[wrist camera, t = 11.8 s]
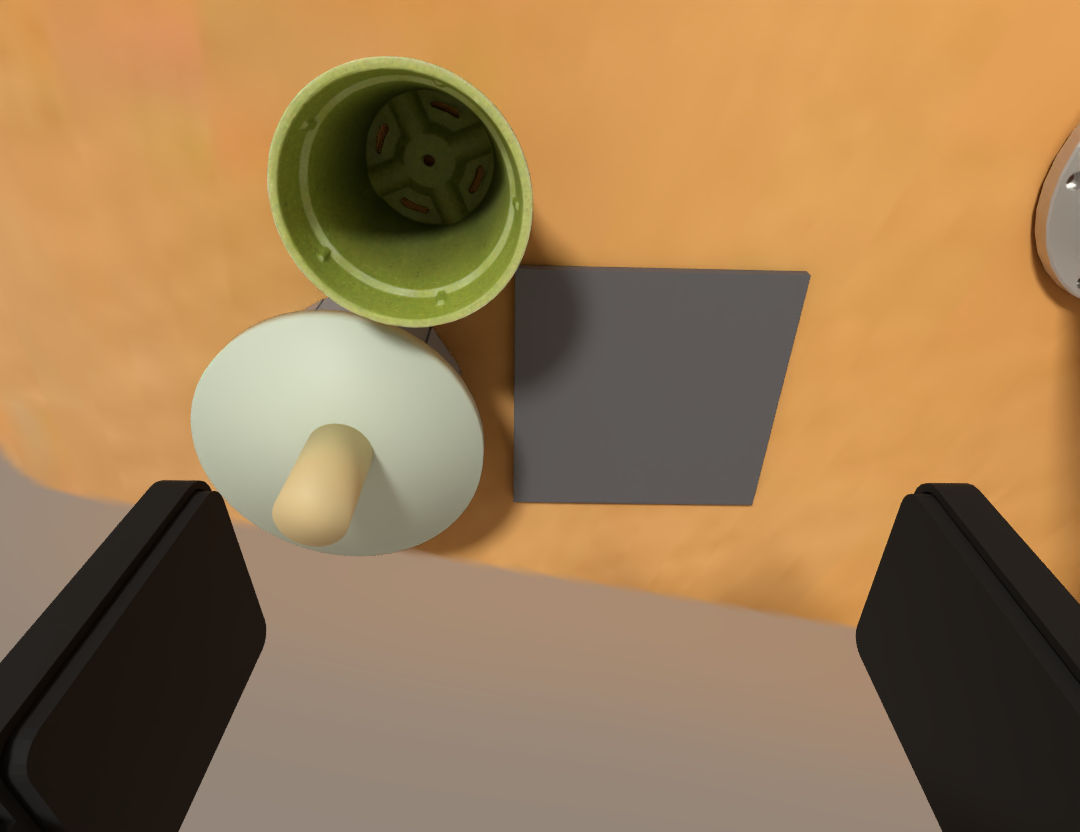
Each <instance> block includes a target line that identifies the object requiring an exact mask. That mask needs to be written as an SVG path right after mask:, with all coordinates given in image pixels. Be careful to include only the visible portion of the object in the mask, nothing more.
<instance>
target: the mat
mask: <svg viewBox="0 0 1080 832" xmlns="http://www.w3.org/2000/svg"><path fill="white" fill-rule="evenodd" d="M810 276H811V275H810V274H809V273H808V272H806V271H764V270H719V269H673V268H627V267H582V266H536V265H519V266H518V268H517V270H516V272H515V369H514V502H559V503H637V504H715V505H752V504H753V500H754V496H755V492H756V488H757V484H758V480H759V476H760V472H761V468H762V464H763V460H764V456H765V453H766V449H767V445H768V441H769V437H770V433H771V429H772V425H773V421H774V417H775V413H776V409H777V405H778V401H779V398H780V394H781V390H782V386H783V382H784V378H785V374H786V370H787V366H788V362H789V358H790V354H791V350H792V347H793V343H794V339H795V335H796V331H797V327H798V323H799V319H800V315H801V311H802V307H803V303H804V299H805V296H806V292H807V288H808V284H809V280H810Z"/></svg>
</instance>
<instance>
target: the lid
mask: <svg viewBox="0 0 1080 832" xmlns="http://www.w3.org/2000/svg"><path fill="white" fill-rule="evenodd" d="M191 431H192V437H193V442H194V446H195V450H196V452H197V455H198V458H199V460H200V463H201V465H202V467H203V469H204V470H205V472H206V474H207V476H208V478H209V479H210V481H211V482H212V483H213V485H214V486H215V488H216V489H217V490H218V492H219V493H220V494H221V495H222V496H223V497H224V498H225V499H226V501H227V502H228V503H229V504H230V505H231V506H232V507H233V508H235V509H236V510H237V511H238V512H239V513H240V514H241V515H243V516H244V517H245V518H246V519H248V520H249V521H251V522H252V523H254V524H255V525H256V526H258V527H259V528H261V529H263V530H265V531H266V532H268V533H270V534H272V535H274V536H276V537H278V538H280V539H282V540H285V541H287V542H289V543H292V544H295V545H297V546H301V547H303V548H306V549H310V550H314V551H319V552H322V553H329V554H335V555H343V556H375V555H383V554H389V553H394V552H398V551H402V550H406V549H409V548H411V547H414V546H417V545H420V544H422V543H424V542H426V541H428V540H430V539H432V538H434V537H435V536H437V535H438V534H440V533H441V532H443V531H444V530H445V529H447V528H448V527H449V526H450V525H451V524H452V523H453V522H455V521H456V520H457V519H458V518H459V516H460V515H461V514H462V513H463V512H464V510H465V509H466V508H467V506H468V505H469V503H470V501H471V500H472V498H473V496H474V494H475V492H476V489H477V487H478V484H479V481H480V476H481V472H482V467H483V457H484V433H483V425H482V421H481V417H480V414H479V410H478V408H477V405H476V403H475V401H474V398H473V396H472V394H471V393H470V391H469V389H468V388H467V386H466V384H465V383H464V381H463V379H462V378H461V377H460V376H459V374H458V373H457V372H456V371H455V369H454V368H453V367H452V366H451V365H450V364H449V363H448V362H447V361H446V360H445V359H444V358H443V357H442V356H441V355H440V354H439V353H438V352H437V351H435V350H434V349H433V348H431V347H430V346H429V345H427V344H426V343H425V342H424V341H422V340H421V339H419V338H417V337H415V336H414V335H412V334H410V333H409V332H407V331H405V330H403V329H401V328H399V327H397V326H394V325H387V324H383V323H380V322H376V321H373V320H370V319H368V318H365V317H362V316H359V315H357V314H355V313H352V312H347V311H338V310H325V309H321V310H302V311H296V312H291V313H285V314H281V315H278V316H275V317H272V318H269V319H266V320H263V321H261V322H259V323H257V324H255V325H253V326H251V327H249V328H248V329H246V330H245V331H243V332H242V333H240V334H239V335H237V336H236V337H235V338H233V339H232V340H231V341H230V342H229V343H228V344H227V345H226V346H225V347H224V348H223V349H222V350H221V351H220V352H219V353H218V355H217V356H216V357H215V358H214V359H213V360H212V362H211V363H210V364H209V366H208V367H207V368H206V370H205V371H204V373H203V375H202V377H201V379H200V381H199V383H198V385H197V387H196V391H195V394H194V398H193V401H192V409H191Z"/></svg>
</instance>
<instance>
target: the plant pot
mask: <svg viewBox="0 0 1080 832" xmlns="http://www.w3.org/2000/svg"><path fill="white" fill-rule="evenodd" d="M435 100H436V101H440V102H443V103H445V104H448V105H450V106H453V107H454V108H456V109H457V110H458V112H459V118H456V117H455V116H453V115H451V114H449V113H447V112H445V111H443V110H440V109H438V108H434V107H432V106H431V103H432V102H434V101H435ZM383 124H387V125H388V126H389V130H388V132H387V134H386V137H385V139H384V142H383V147H382V148H381V153H380V154H378V151H377V149H376V138H377V134H378V131H379V129H380V127H381V126H382V125H383ZM426 155H431V156H432V157H433V158H434V159H435V163H434V164H433V165H432V166H428V165H426V164H425V163H424V160H423V159H424V156H426ZM479 165H481V166H482V167H483V169H484V176H483V179H482V180H481V183H480V186H479V188H478V189H477V191H476V192H475V193H470V192H469V188H470V187H471V185H472V183H473V181H474V179H475V175H476V170H477V167H478V166H479ZM267 187H268V195H269V201H270V206H271V211H272V214H273V218H274V222H275V225H276V228H277V230H278V233H279V235H280V237H281V240H282V242H283V244H284V246H285V247H286V249H287V251H288V253H289V254H290V256H291V257H292V259H293V261H294V262H295V264H296V265H297V266H298V268H299V269H300V270H301V271H302V272H303V273H304V275H305V276H306V277H307V278H308V279H309V280H310V281H311V282H312V283H313V284H314V285H315V286H316V287H317V288H318V289H319V290H321V291H322V292H323V293H324V294H325V295H326V296H328V297H329V298H330V299H331V300H333V301H334V302H336V303H337V304H338V305H340V306H342V307H344V308H345V309H347V310H349V311H351V312H353V313H355V314H357V315H359V316H362V317H365V318H368V319H370V320H373V321H376V322H380V323H383V324H387V325H394V326H401V327H431V326H436V325H441V324H446V323H449V322H453V321H456V320H459V319H461V318H464V317H466V316H468V315H470V314H472V313H474V312H475V311H477V310H479V309H481V308H482V307H484V306H485V305H487V304H488V303H489V302H490V301H491V300H493V299H494V298H495V297H496V296H497V295H498V294H499V293H500V292H501V291H502V290H503V289H504V288H505V286H506V285H507V284H508V282H509V281H510V280H511V278H512V276H513V275H514V274H515V272H516V270H517V268H518V266H519V264H520V262H521V260H522V258H523V256H524V253H525V250H526V247H527V244H528V241H529V237H530V231H531V225H532V217H533V194H532V184H531V178H530V173H529V169H528V165H527V162H526V159H525V156H524V153H523V151H522V148H521V146H520V143H519V141H518V139H517V137H516V136H515V134H514V132H513V130H512V128H511V127H510V125H509V124H508V122H507V121H506V119H505V118H504V116H503V115H502V114H501V112H500V111H499V110H498V108H497V107H496V106H495V105H494V104H493V103H492V102H491V101H490V100H489V99H488V98H487V97H486V96H485V95H484V94H483V93H482V92H481V91H480V90H478V89H477V88H476V87H474V86H473V85H472V84H471V83H469V82H468V81H466V80H465V79H463V78H461V77H460V76H458V75H456V74H455V73H453V72H451V71H449V70H447V69H444V68H442V67H440V66H437V65H434V64H431V63H428V62H425V61H421V60H417V59H412V58H407V57H395V56H380V57H369V58H363V59H357V60H354V61H350V62H347V63H345V64H342V65H339V66H337V67H335V68H333V69H330V70H329V71H327V72H325V73H323V74H321V75H320V76H318V77H317V78H315V79H314V80H312V81H311V82H310V83H309V84H307V85H306V86H305V87H304V88H303V89H302V90H301V91H300V92H299V93H298V94H297V95H296V97H295V98H294V99H293V100H292V102H291V103H290V104H289V106H288V107H287V109H286V110H285V112H284V114H283V116H282V117H281V120H280V122H279V124H278V126H277V128H276V131H275V133H274V136H273V139H272V143H271V147H270V152H269V159H268V168H267ZM403 198H406V199H408V200H410V201H412V202H414V203H416V204H418V205H420V206H423V207H428V209H429V211H428V212H427V213H422V212H419V211H417V210H411V209H409V208H407V207H406V206H405V205H403V204H402V200H401V199H403Z"/></svg>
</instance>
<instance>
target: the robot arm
mask: <svg viewBox="0 0 1080 832" xmlns="http://www.w3.org/2000/svg"><path fill="white" fill-rule="evenodd" d="M1035 238H1036V246H1037V253H1038V255H1039V257H1040V260H1041V262H1042V265H1043V267H1044V269H1045V271H1046V272H1047V273H1048V275H1049V276H1050V277H1051V278H1052V280H1053V281H1054V282H1055V283H1056V284H1057V285H1058V286H1060V287H1061V288H1062V289H1064V290H1065V291H1067V292H1068V293H1070V294H1071V295H1073V296H1075V297H1077V298H1079V299H1080V123H1079V124H1078V125H1077V126H1076V127H1075V129H1074V130H1073V131H1072V133H1071V134H1070V136H1069V137H1068V139H1067V141H1066V142H1065V144H1064V145H1063V147H1062V148H1061V150H1060V151H1059V153H1058V154H1057V156H1056V158H1055V160H1054V162H1053V164H1052V166H1051V169H1050V171H1049V173H1048V175H1047V177H1046V179H1045V182H1044V184H1043V188H1042V191H1041V195H1040V198H1039V202H1038V205H1037V210H1036V222H1035ZM265 638H266V623H265V619H264V617H263V614H262V611H261V608H260V605H259V602H258V599H257V596H256V593H255V590H254V587H253V584H252V581H251V578H250V576H249V573H248V570H247V567H246V564H245V561H244V558H243V555H242V552H241V550H240V547H239V543H238V541H237V538H236V535H235V532H234V529H233V526H232V523H231V520H230V517H229V514H228V511H227V508H226V505H225V503H224V500H223V498H222V496H221V494H220V493H219V492H216V491H211V489H210V487H209V485H208V484H207V483H206V482H204V481H180V480H162V481H158V482H156V483H154V484H153V485H152V486H151V487H150V488H149V489H148V490H147V491H146V493H145V494H144V495H143V496H142V497H141V498H140V500H139V501H138V502H137V503H136V504H135V506H134V507H133V508H132V509H131V510H130V511H129V513H128V514H127V515H126V516H125V517H124V518H123V520H122V521H121V522H120V523H119V524H118V525H117V527H116V528H115V529H114V530H113V531H112V533H111V534H110V535H109V536H108V537H107V538H106V540H105V541H104V542H103V543H102V544H101V545H100V547H99V548H98V549H97V550H96V551H95V553H94V554H93V555H92V556H91V557H90V558H89V559H88V561H87V562H86V563H85V564H84V565H83V566H82V568H81V569H80V570H79V571H78V572H77V574H76V575H75V576H74V577H73V578H72V579H71V581H70V582H69V583H68V584H67V585H66V586H65V588H64V589H63V590H62V591H61V592H60V593H59V595H58V596H57V597H56V598H55V599H54V600H53V602H52V603H51V604H50V605H49V606H48V608H47V609H46V610H45V611H44V612H43V613H42V615H41V616H40V617H39V618H38V619H37V620H36V622H35V623H34V624H33V625H32V626H31V628H30V629H29V630H28V631H27V632H26V633H25V635H24V636H23V637H22V638H21V639H20V640H19V642H18V643H17V644H16V645H15V646H14V648H13V649H12V650H11V651H10V652H9V653H8V654H7V656H6V657H5V658H4V659H3V660H2V662H1V663H0V832H178V831H179V829H180V827H181V825H182V823H183V821H184V818H185V816H186V814H187V812H188V810H189V807H190V805H191V803H192V801H193V799H194V797H195V794H196V792H197V790H198V788H199V786H200V784H201V781H202V779H203V777H204V775H205V773H206V771H207V768H208V766H209V764H210V762H211V760H212V758H213V755H214V753H215V751H216V749H217V747H218V745H219V742H220V740H221V738H222V736H223V734H224V732H225V729H226V727H227V725H228V723H229V721H230V719H231V716H232V714H233V712H234V710H235V707H236V706H237V703H238V701H239V699H240V697H241V695H242V693H243V690H244V688H245V686H246V684H247V682H248V680H249V677H250V675H251V673H252V671H253V669H254V667H255V664H256V662H257V659H258V658H259V655H260V653H261V651H262V649H263V646H264V643H265ZM856 644H857V648H858V652H859V654H860V657H861V659H862V661H863V663H864V665H865V667H866V670H867V672H868V674H869V676H870V678H871V680H872V682H873V685H874V686H875V689H876V691H877V693H878V695H879V697H880V699H881V702H882V703H883V706H884V708H885V710H886V712H887V714H888V717H889V719H890V721H891V723H892V725H893V727H894V729H895V731H896V733H897V736H898V738H899V740H900V742H901V744H902V746H903V748H904V751H905V753H906V755H907V757H908V759H909V761H910V763H911V765H912V768H913V770H914V772H915V774H916V776H917V778H918V780H919V783H920V785H921V786H922V789H923V791H924V793H925V795H926V797H927V800H928V802H929V804H930V806H931V808H932V810H933V812H934V814H935V817H936V819H937V821H938V823H939V825H940V827H941V829H942V832H1080V604H1079V603H1078V602H1077V601H1076V600H1075V599H1074V597H1073V596H1072V595H1071V594H1070V593H1069V592H1068V591H1067V589H1066V588H1065V587H1064V586H1063V585H1062V584H1061V583H1060V581H1059V580H1058V579H1057V578H1056V577H1055V576H1054V575H1053V573H1052V572H1051V571H1050V570H1049V569H1048V568H1047V567H1046V566H1045V564H1044V563H1043V562H1042V561H1041V560H1040V559H1039V558H1038V556H1037V555H1036V554H1035V553H1034V552H1033V551H1032V550H1031V548H1030V547H1029V546H1028V545H1027V544H1026V543H1025V542H1024V541H1023V539H1022V538H1021V537H1020V536H1019V535H1018V534H1017V533H1016V531H1015V530H1014V529H1013V528H1012V527H1011V526H1010V525H1009V523H1008V522H1007V521H1006V520H1005V519H1004V518H1003V517H1002V516H1001V514H1000V513H999V512H998V511H997V510H996V509H995V508H994V506H993V505H992V504H991V503H990V502H989V501H988V500H987V498H986V497H985V496H984V495H983V494H982V493H981V492H980V490H978V489H977V488H976V487H975V486H974V485H971V484H967V483H925V484H921V485H920V486H919V487H918V488H917V489H916V491H915V493H914V494H909V495H907V496H905V497H904V499H903V501H902V503H901V505H900V508H899V511H898V514H897V516H896V519H895V522H894V525H893V528H892V530H891V533H890V536H889V539H888V542H887V544H886V547H885V550H884V553H883V556H882V558H881V561H880V564H879V567H878V570H877V572H876V575H875V578H874V581H873V583H872V586H871V589H870V592H869V595H868V597H867V600H866V603H865V606H864V609H863V611H862V614H861V617H860V620H859V623H858V625H857V629H856Z"/></svg>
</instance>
